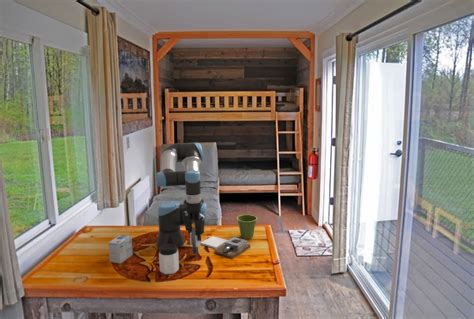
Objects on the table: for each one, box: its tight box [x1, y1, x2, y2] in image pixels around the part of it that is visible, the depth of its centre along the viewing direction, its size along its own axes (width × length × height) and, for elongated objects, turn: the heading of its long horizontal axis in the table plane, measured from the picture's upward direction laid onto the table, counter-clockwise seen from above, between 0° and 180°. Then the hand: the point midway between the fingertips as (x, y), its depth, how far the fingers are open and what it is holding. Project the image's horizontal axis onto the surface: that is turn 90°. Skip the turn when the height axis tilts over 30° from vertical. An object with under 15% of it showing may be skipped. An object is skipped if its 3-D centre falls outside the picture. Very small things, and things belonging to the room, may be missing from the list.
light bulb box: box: [107, 234, 133, 264], centre depth 193 cm, size 11×7×11 cm, turn 160°
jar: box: [158, 243, 180, 275], centre depth 179 cm, size 9×8×12 cm
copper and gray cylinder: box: [191, 222, 199, 255], centre depth 194 cm, size 3×3×16 cm
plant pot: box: [236, 214, 258, 239], centre depth 219 cm, size 12×12×11 cm
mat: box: [200, 236, 229, 250], centre depth 211 cm, size 11×11×1 cm
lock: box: [214, 236, 251, 259], centre depth 201 cm, size 12×16×4 cm
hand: (195, 245), depth 195 cm, fingers closed on copper and gray cylinder, 3 cm apart
